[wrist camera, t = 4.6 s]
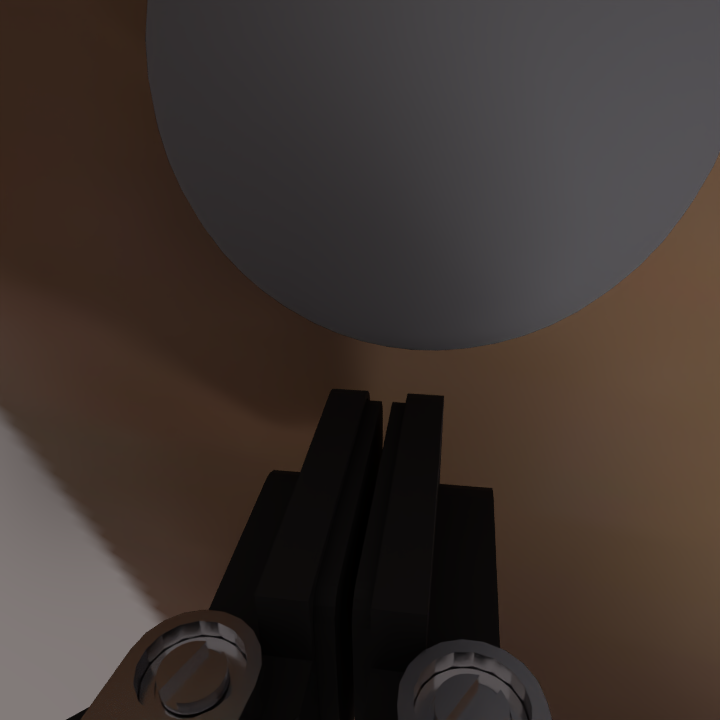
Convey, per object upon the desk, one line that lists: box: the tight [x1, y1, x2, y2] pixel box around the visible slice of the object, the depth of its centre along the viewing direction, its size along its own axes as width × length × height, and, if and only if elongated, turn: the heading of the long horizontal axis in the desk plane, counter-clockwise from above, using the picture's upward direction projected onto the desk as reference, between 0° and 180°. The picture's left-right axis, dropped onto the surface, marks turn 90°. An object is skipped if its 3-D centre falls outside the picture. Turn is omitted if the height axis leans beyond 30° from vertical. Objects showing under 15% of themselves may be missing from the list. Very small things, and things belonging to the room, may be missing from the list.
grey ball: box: [145, 0, 720, 350], centre depth 7 cm, size 6×6×6 cm
